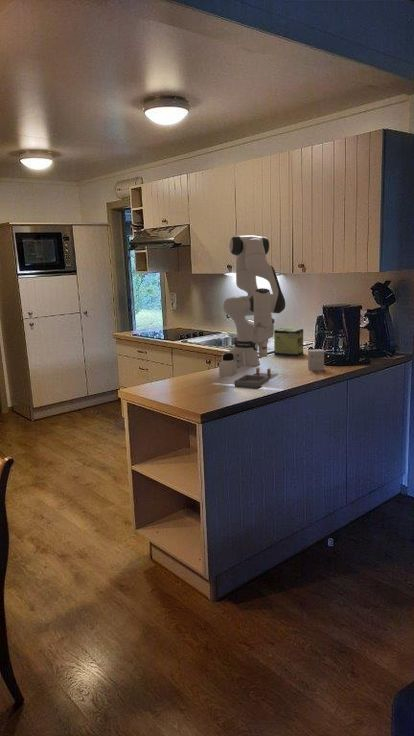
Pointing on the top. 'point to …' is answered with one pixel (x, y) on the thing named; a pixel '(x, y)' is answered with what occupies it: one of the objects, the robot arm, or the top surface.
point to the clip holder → (265, 373)
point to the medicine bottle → (227, 365)
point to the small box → (316, 359)
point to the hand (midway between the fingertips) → (263, 349)
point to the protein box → (288, 342)
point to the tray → (251, 381)
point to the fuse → (263, 349)
